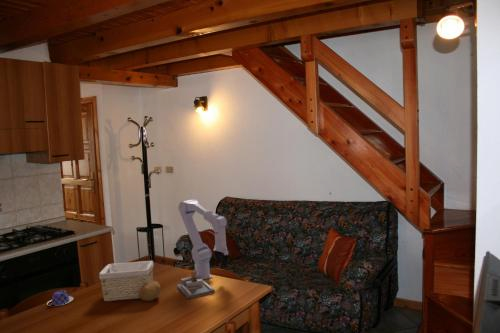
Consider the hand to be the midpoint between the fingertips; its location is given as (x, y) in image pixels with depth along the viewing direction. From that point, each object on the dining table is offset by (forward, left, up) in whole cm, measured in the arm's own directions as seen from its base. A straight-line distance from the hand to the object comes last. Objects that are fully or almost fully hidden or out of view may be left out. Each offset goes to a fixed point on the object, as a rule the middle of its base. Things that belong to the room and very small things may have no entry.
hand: (222, 265), depth 211 cm
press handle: (+1, -16, -7) cm, 18 cm away
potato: (+1, -38, -10) cm, 40 cm away
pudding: (-22, -78, -10) cm, 82 cm away
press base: (+2, -16, -9) cm, 19 cm away
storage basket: (-12, -47, -10) cm, 49 cm away
